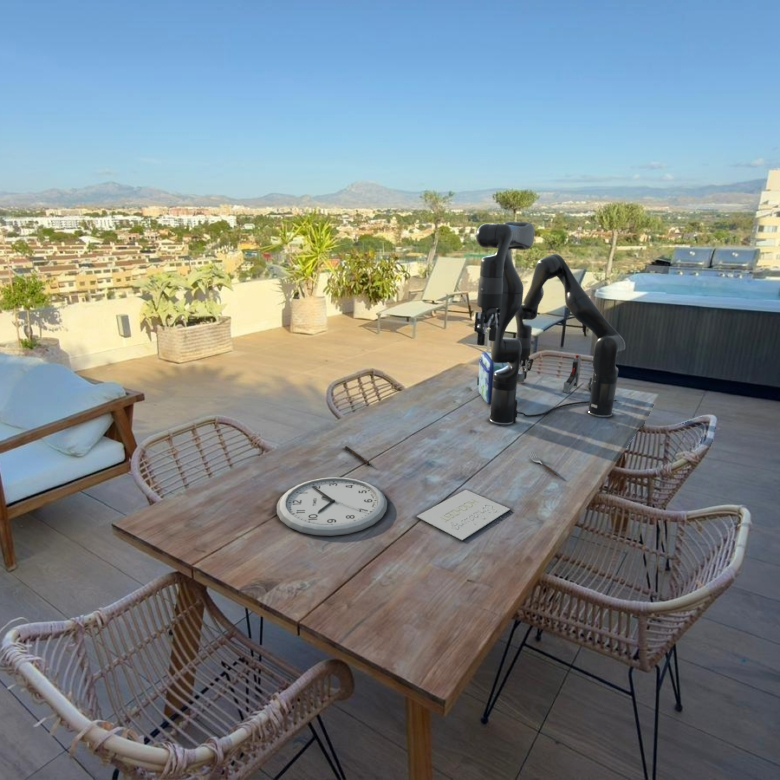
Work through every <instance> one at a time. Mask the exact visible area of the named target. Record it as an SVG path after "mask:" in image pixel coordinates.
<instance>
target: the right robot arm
mask: <svg viewBox="0 0 780 780" xmlns="http://www.w3.org/2000/svg"><path fill="white" fill-rule="evenodd" d="M556 277H557V278H558V280H559V281H560V282H561V284H562V286H563V289H564V303H565V306H566V307H567V309H568V310H569V312H570V313H571V315H572V316H573V317H574V318H575V319H576V320H577V321H578V322H579V323H581V324H582V325H583V326H584V327H586V328H587V329H589V330H590V331H591V332H592V333H593V334H594V335H595V336H596V338H597V340H596V341H595V345H594V348H593V356H592V367H593V375H592V377H589V382H588V384H587V388H588V390H589V392H590V397H589V401H590V402H589V403H588V410H587V413H588V414H589V415H591V416H593V417H597V418H611V417H612V416H613V409H614V404H615V402H614V400H615V398H616V397H615V396H616V389H617V384H618V376H619V368H618V367H617V366H616V364H617V357H619V356H621V355H623V353H624V352H625V351H626V343H625V340H624V338H623V337H622V336H621V335H620V333H619V332H618V331H617V330H616V329H615V328H614V327H613V326H612V325H611V324H610V323H609V321H607V319H606V318H605V316H604V315H603V313H602V312H601V311H600V310H599V308H598V307H597V305H596V304H595V303H594V301H593V300H592V298H591V297H590V296H589V295H588V293H587V292H586V291H585V289H584V288H583V287H582V286H581V284H580V283H579V281H578V279H577V278H576V277H575V275H574V273H573V272H572V270H571V269H570V267H569V265H568V264H567V262H566V261H565V259H564V258H563V257H562V256H561V254H559V253H554V254H551V255H548V256H546V257H545V256H544V257H543V258H541V259H539V260H538V261H537V263H536V264H535V268H534V271H533V276H532V279H531V283H530V286H529V288H528V291H527V292H526V295H525V297H524V299H523V304H522V305H521V308H520V309H519V311H518V312H517V314H516V315H515V316H514V318H515V323H516V335H515V339H518V340H519V341H520V342H521V347H522V350H521V359H520V365H519V370H521V369H522V372H524V373H525V376H524V381H525V380H526V379H527V374H528V372H529V371H531V370H532V367H533V363H534V358H530V356H531V349H532V334H533V333H532V331H533V327H532V325H531V324H527V323H525V322H524V321H533V320H534V319H536V318H537V317H538V310H539V305H540V303H541V302H542V300H543V298H544V293H545V291H544V290H545V289H544V287H543V286H544V285H545V284H546V282H547V281H548V280H551V279H554V278H556ZM517 380H518V379H517Z"/></svg>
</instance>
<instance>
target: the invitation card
mask: <svg viewBox="0 0 780 780" xmlns="http://www.w3.org/2000/svg"><path fill="white" fill-rule="evenodd" d="M510 510H511V508H509V507H507V506H504V505H503V504H500V503H498V502H496V501H493V500H492V499H491V500H490V499H488V498H487V497H484V496H481V495H479V494H477V493H474V492H472V491H470V490H468V489H464V490H462V491H460V492H458V493H456V494H455V495H453V496H451V497H449V498H447V499H446V500H443V501H441V502H440V503H438V504H437V505H434V506H433V507H430V508H429V509H427V510H425V511H423V512H422V513H420V514H418V515H416V518H418V519H420V520H421V521H423V522H426V523H427V524H428V525H429V524H430V525H431V526H433V527H435V528H437V529H439V530H440V531H442V532H445V533H446V534H448V535H450V536H453V537H454V538H456V539H457V540H460V541H463V540H465V539H467V538H468V537H470V536H472V535H473V534H474V533H476V532H478V531H480V530H481V529H482V528H484V527H485V526H487V525H488V524H490V523H492V522H493V521H495V520H496V519H498V518H499V517H501V516H503V515H504V514H506V513H507V512H509V511H510Z"/></svg>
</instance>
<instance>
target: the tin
mask: <svg viewBox="0 0 780 780" xmlns="http://www.w3.org/2000/svg"><path fill="white" fill-rule="evenodd" d="M524 376H525V373H524V372H523V371H519V373H518V380H517V383H523V382H525V380H524Z"/></svg>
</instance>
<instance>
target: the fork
mask: <svg viewBox="0 0 780 780" xmlns="http://www.w3.org/2000/svg"><path fill="white" fill-rule="evenodd" d="M528 454H529V457H530V458H531V460H532V462H534V463H538V464H541V466H543V468H544V469H546V471H548V472H550V473H552V475H554V476H555V477H559V475H558V474H557V473H556V472H555V471H554V470H553V469H552V468H551V467H549V466H548V465H546V464H545V463H543V462H542V460H541V459H540V458H539V456H538V454H537V452H536V451H528Z"/></svg>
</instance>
